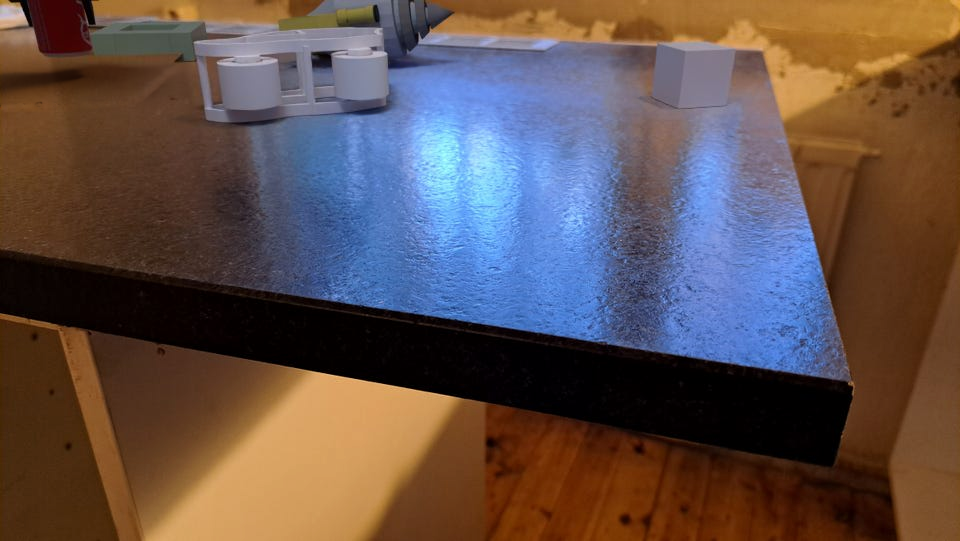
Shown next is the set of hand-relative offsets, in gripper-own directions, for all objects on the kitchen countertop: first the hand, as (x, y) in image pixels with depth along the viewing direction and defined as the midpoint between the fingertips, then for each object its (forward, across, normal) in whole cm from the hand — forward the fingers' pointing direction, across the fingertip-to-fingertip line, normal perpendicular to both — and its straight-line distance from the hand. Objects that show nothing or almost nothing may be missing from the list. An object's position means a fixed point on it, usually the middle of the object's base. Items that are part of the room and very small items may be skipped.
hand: (61, 16), depth 84 cm
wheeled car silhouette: (-13, +23, -23) cm, 35 cm away
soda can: (0, 0, -5) cm, 5 cm away
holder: (+19, +10, +8) cm, 22 cm away
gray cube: (-22, +63, -32) cm, 74 cm away
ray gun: (+6, +38, -5) cm, 39 cm away
